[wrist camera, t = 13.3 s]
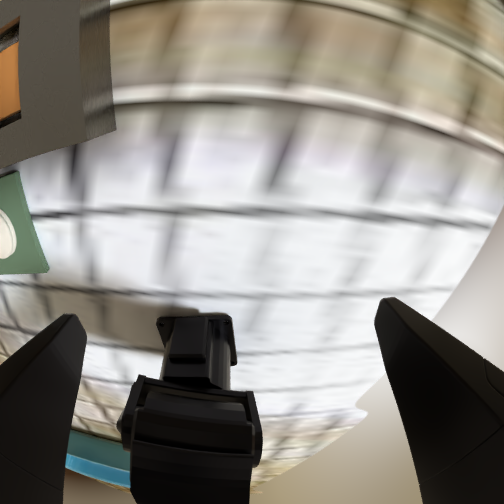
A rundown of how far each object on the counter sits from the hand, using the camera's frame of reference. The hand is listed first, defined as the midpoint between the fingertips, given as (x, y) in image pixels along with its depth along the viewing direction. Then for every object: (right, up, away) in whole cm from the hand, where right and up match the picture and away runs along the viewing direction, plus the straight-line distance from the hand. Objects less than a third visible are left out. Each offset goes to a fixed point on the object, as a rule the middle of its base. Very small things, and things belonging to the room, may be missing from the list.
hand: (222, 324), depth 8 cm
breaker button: (-16, +14, +4) cm, 21 cm away
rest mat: (-22, +4, +10) cm, 24 cm away
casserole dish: (-29, -40, +37) cm, 62 cm away
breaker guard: (-16, +14, +5) cm, 22 cm away
